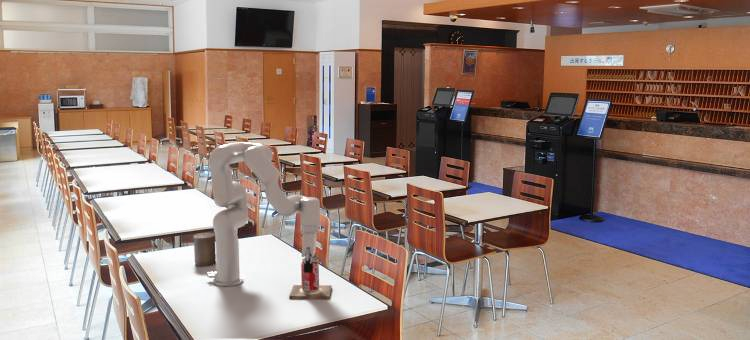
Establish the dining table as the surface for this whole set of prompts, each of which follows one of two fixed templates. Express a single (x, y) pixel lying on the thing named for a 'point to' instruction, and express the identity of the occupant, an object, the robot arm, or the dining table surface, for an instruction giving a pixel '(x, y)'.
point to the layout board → (319, 294)
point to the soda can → (310, 277)
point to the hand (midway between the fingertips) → (309, 268)
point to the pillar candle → (204, 249)
